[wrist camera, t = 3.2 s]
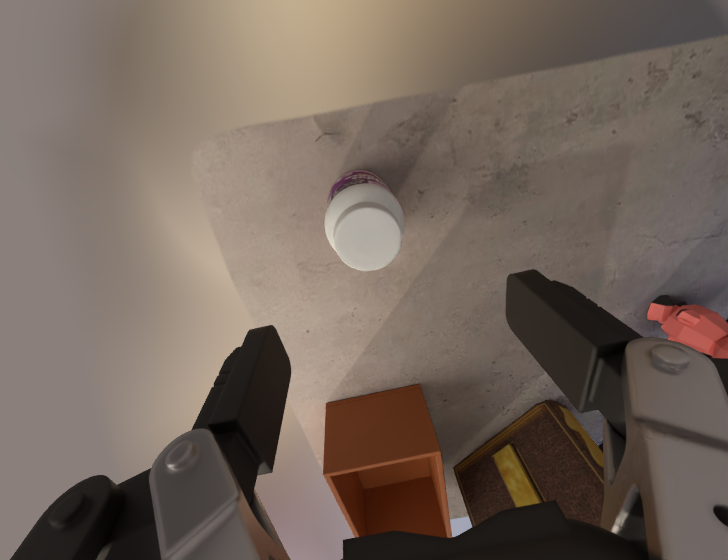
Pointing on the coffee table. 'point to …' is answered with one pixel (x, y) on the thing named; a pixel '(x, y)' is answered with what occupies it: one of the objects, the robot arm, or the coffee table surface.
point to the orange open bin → (386, 464)
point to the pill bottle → (363, 221)
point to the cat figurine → (692, 326)
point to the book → (535, 467)
